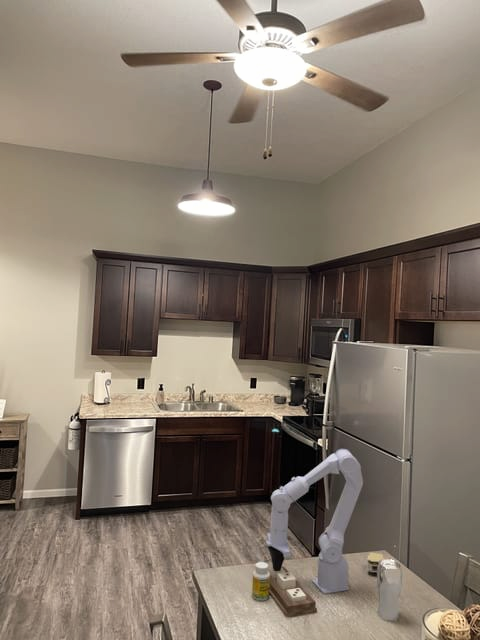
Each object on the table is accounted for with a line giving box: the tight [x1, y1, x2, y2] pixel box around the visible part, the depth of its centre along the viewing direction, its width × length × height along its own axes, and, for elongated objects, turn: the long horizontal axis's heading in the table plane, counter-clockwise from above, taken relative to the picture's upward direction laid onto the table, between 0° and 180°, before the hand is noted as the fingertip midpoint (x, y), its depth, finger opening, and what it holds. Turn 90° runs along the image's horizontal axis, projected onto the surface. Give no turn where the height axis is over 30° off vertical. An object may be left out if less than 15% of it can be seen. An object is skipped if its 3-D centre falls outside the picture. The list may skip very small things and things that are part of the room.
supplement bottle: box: [251, 561, 270, 601], centre depth 145 cm, size 5×5×10 cm
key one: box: [268, 566, 286, 579], centre depth 153 cm, size 4×4×3 cm
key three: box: [286, 588, 306, 602], centre depth 140 cm, size 4×4×3 cm
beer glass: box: [376, 558, 403, 622], centre depth 138 cm, size 7×7×15 cm
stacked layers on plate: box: [366, 552, 385, 576], centre depth 164 cm, size 10×9×6 cm
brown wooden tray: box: [269, 566, 318, 618], centre depth 147 cm, size 10×22×3 cm, turn 20°
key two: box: [277, 571, 297, 590], centre depth 147 cm, size 4×4×3 cm
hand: (276, 570), depth 153 cm, fingers closed, pressing on key one
